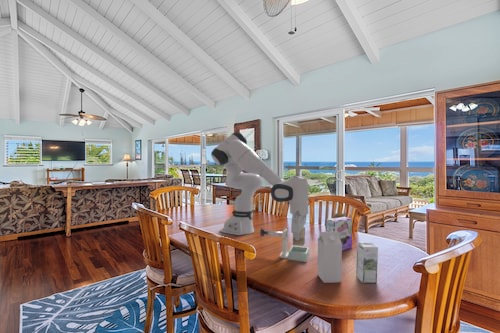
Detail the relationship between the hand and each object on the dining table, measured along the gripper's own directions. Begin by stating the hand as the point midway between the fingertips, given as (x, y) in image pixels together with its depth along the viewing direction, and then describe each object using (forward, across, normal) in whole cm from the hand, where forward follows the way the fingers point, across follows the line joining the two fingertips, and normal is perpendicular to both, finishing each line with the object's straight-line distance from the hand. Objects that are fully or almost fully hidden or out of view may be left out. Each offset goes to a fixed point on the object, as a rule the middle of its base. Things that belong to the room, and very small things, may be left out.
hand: (298, 237), depth 124 cm
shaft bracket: (+10, 0, +2) cm, 10 cm away
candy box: (+10, +20, -18) cm, 29 cm away
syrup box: (+10, -14, -29) cm, 34 cm away
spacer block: (+3, 0, 0) cm, 3 cm away
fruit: (+10, +43, -18) cm, 48 cm away
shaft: (+1, 0, +12) cm, 13 cm away
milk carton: (+10, -18, -15) cm, 25 cm away
